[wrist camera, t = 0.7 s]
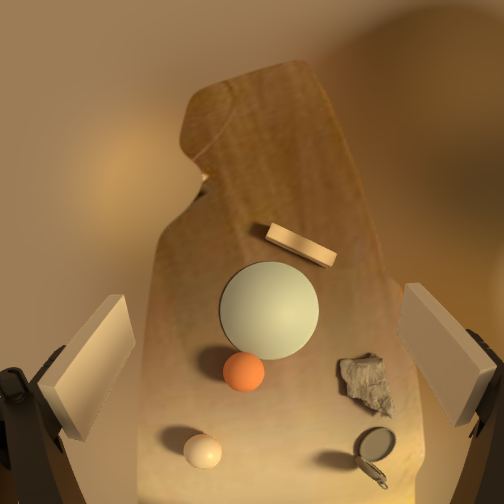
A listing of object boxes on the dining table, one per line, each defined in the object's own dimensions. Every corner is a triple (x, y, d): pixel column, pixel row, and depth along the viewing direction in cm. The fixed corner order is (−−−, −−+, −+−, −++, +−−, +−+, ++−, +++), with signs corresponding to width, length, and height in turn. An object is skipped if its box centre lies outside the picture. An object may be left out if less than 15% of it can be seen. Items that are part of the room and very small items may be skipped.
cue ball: (226, 454, 41) (226, 472, 36) (192, 460, 41) (188, 478, 35) (216, 425, 42) (214, 440, 36) (181, 432, 41) (175, 447, 36)
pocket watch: (397, 425, 43) (428, 447, 33) (384, 466, 42) (410, 493, 32) (354, 426, 43) (379, 452, 33) (342, 469, 41) (362, 500, 32)
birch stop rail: (331, 256, 46) (336, 253, 44) (326, 268, 46) (331, 266, 43) (270, 226, 46) (272, 222, 44) (264, 238, 46) (266, 235, 44)
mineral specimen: (353, 424, 44) (361, 435, 40) (335, 361, 44) (344, 369, 40) (388, 407, 44) (399, 417, 40) (373, 345, 45) (385, 351, 40)
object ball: (266, 380, 43) (270, 390, 38) (229, 389, 43) (228, 401, 37) (256, 344, 44) (259, 351, 38) (219, 354, 43) (216, 362, 38)
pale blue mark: (328, 343, 44) (328, 343, 44) (235, 370, 43) (235, 370, 43) (303, 250, 46) (304, 250, 46) (209, 275, 45) (209, 275, 45)
